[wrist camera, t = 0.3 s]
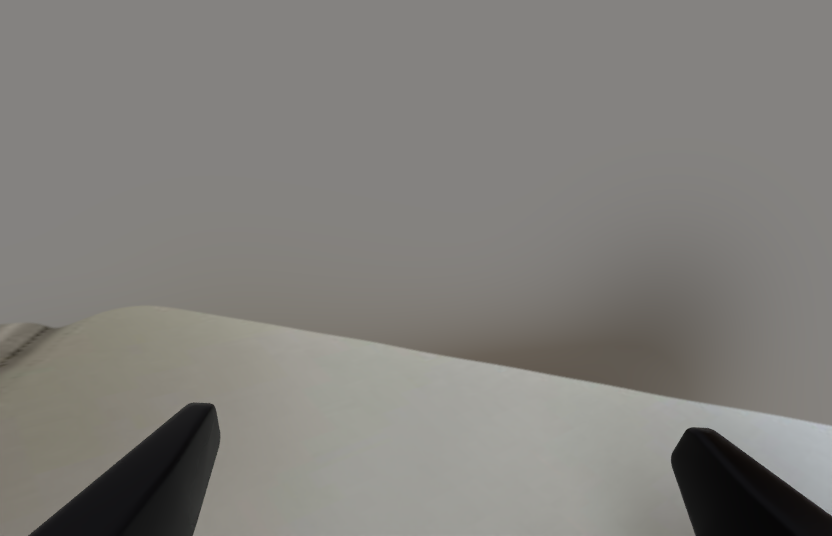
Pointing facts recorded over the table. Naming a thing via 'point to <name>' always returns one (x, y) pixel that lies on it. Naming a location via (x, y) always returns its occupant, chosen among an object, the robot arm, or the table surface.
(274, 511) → the table surface
